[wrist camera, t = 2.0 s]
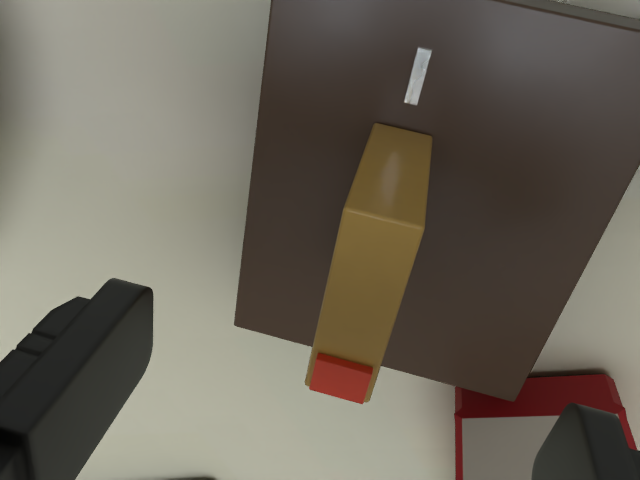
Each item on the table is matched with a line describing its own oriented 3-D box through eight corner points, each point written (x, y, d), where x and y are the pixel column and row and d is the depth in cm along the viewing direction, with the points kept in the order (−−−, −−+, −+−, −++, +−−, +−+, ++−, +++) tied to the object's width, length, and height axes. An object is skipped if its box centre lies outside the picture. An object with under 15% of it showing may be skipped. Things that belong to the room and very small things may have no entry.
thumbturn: (374, 121, 15) (341, 212, 11) (433, 135, 15) (424, 234, 10) (339, 270, 18) (301, 394, 13) (389, 284, 17) (367, 412, 13)
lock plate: (296, -55, 15) (274, -48, 13) (675, 27, 14) (708, 45, 12) (250, 293, 21) (231, 329, 20) (509, 362, 21) (515, 407, 19)
